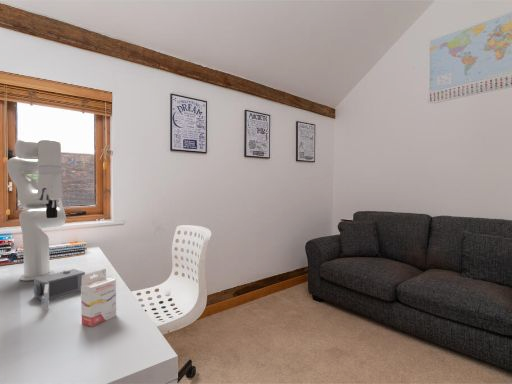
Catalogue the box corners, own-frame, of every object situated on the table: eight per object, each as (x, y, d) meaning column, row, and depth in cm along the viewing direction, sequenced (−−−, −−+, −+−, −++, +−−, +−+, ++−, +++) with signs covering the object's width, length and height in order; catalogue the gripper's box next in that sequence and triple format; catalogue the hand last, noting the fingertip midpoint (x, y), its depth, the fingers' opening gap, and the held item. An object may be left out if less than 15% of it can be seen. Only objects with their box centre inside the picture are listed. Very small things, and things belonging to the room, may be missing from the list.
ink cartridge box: (92, 327, 85) (90, 277, 84) (81, 324, 87) (79, 275, 86) (117, 315, 92) (116, 269, 92) (106, 312, 95) (105, 267, 94)
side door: (50, 298, 105) (49, 281, 105) (49, 309, 96) (48, 291, 96) (43, 299, 104) (42, 283, 104) (42, 310, 95) (41, 292, 94)
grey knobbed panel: (29, 298, 108) (28, 277, 108) (74, 285, 121) (73, 267, 121) (39, 303, 103) (39, 281, 103) (85, 289, 116) (84, 270, 116)
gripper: (49, 172, 121) (50, 216, 121) (28, 170, 106) (30, 220, 107) (69, 172, 122) (70, 215, 123) (51, 170, 108) (53, 219, 108)
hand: (52, 217), depth 115 cm, fingers closed
